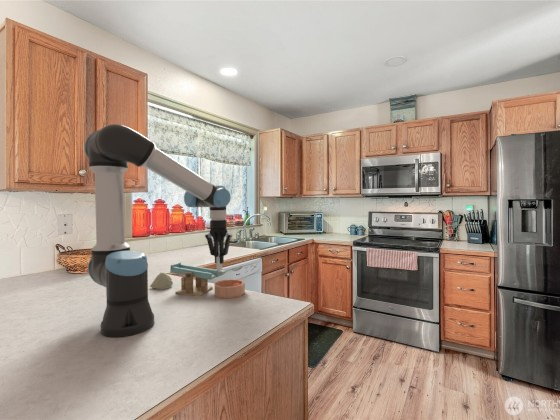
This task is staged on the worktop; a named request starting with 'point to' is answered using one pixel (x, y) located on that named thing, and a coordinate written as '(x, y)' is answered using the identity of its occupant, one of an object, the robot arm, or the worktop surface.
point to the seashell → (162, 281)
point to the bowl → (229, 288)
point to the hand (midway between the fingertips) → (219, 270)
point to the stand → (191, 289)
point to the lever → (195, 271)
